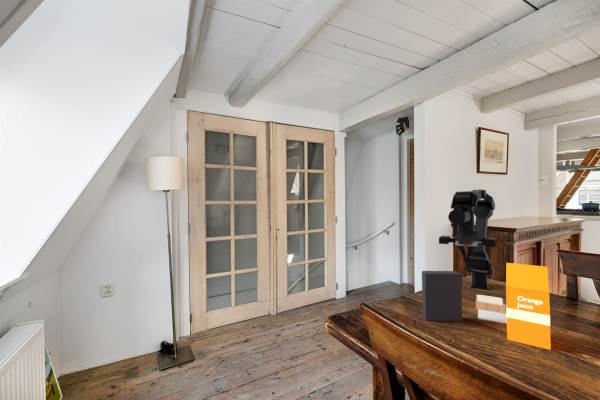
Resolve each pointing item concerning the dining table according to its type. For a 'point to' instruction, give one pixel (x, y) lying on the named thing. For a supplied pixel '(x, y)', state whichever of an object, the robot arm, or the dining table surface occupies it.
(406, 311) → the dining table surface
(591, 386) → the dining table surface
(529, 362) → the dining table surface
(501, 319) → the mat
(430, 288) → the charcoal upright rounded slab
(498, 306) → the tile
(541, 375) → the dining table surface
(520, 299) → the orange juice
